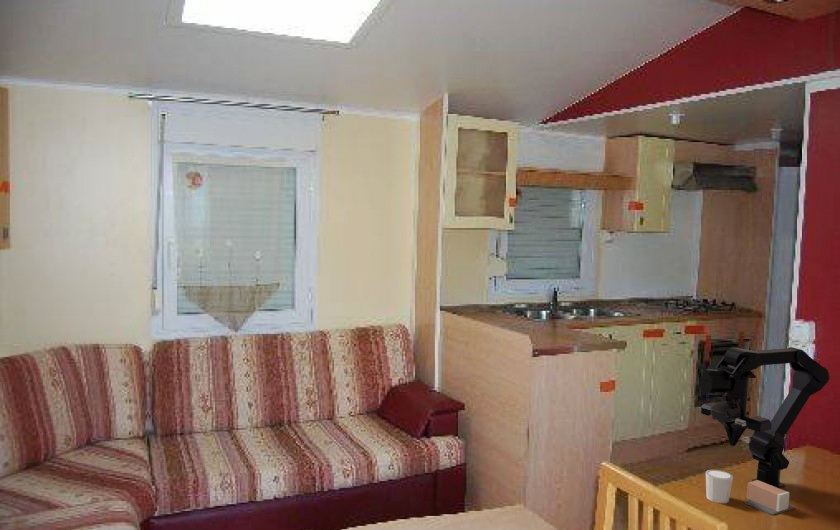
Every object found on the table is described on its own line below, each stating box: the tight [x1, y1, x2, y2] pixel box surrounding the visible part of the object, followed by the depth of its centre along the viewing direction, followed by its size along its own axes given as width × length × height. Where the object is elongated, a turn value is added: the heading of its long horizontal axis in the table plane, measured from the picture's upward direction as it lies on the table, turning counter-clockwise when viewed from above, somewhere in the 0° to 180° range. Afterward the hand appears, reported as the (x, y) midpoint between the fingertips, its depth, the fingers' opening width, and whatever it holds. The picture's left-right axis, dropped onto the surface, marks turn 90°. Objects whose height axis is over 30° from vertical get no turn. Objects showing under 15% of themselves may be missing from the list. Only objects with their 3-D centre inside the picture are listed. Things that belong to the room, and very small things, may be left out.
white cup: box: [705, 469, 734, 504], centre depth 176 cm, size 7×7×7 cm
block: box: [746, 480, 790, 512], centre depth 173 cm, size 4×4×9 cm
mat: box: [743, 499, 796, 516], centre depth 173 cm, size 10×8×1 cm
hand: (732, 445), depth 184 cm, fingers closed
